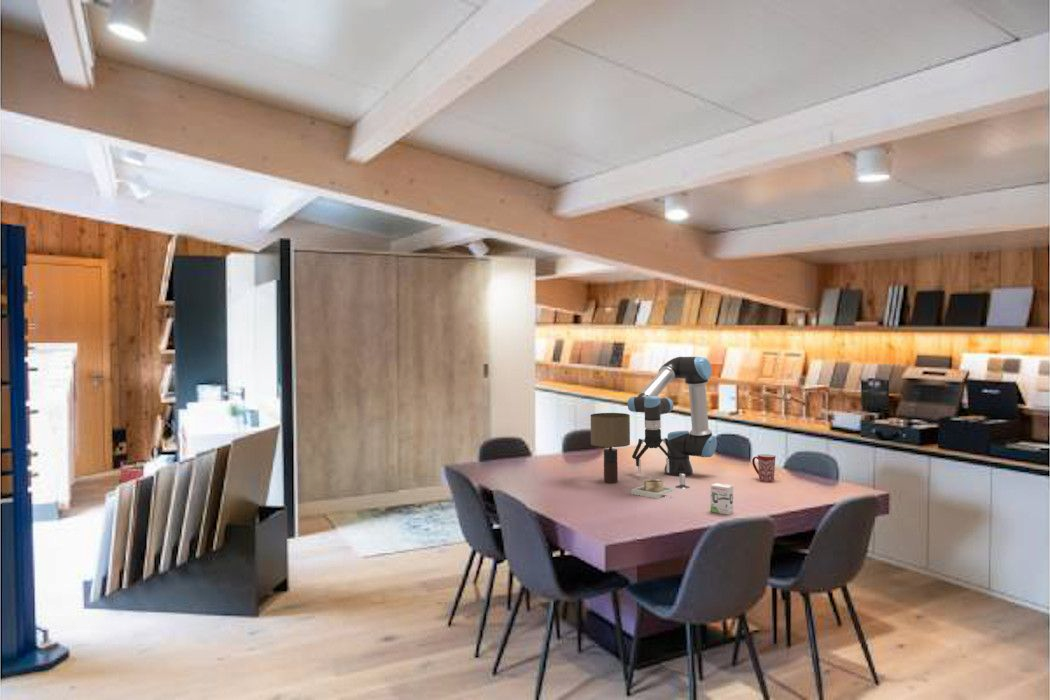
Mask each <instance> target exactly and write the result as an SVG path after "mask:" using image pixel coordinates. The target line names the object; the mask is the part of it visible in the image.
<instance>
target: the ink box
mask: <svg viewBox="0 0 1050 700" xmlns="http://www.w3.org/2000/svg"><path fill="white" fill-rule="evenodd" d="M710 512H712V513H716V514H723V515H731V514H734V485H732V484H727V483H726V484H724V483H719V482H716V483H712V484H711V485H710Z"/></svg>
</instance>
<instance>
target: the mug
mask: <svg viewBox="0 0 1050 700" xmlns="http://www.w3.org/2000/svg"><path fill="white" fill-rule="evenodd" d="M776 458H777V457H776V454H773V453H758V454H757V456H753V457H752V461H751V464H752V466H753V468H754V471H755V472H756V474H757V475H758V480H759V482H762V483H773V481H774V482H775V469H776ZM756 459H757V460H758V461H757V463H758V464H757V465H758V468H757V465H756V463H755V462H756V461H755V460H756Z"/></svg>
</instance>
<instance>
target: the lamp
mask: <svg viewBox="0 0 1050 700" xmlns="http://www.w3.org/2000/svg"><path fill="white" fill-rule="evenodd" d="M630 418H631V415H630V414H629V413H624V412H623V413H622V412H598V413H592V414H590V445H591V446H594V447H598V448H604V449H603V482H604V483H605V484H617V483H618V481H619V479H618V478H619V477H618V473H619V472H618V470H619V468H618V448H622V447H628V446H631V425H630V424H631V423H630V422H631V420H630Z"/></svg>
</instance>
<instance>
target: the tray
mask: <svg viewBox="0 0 1050 700" xmlns="http://www.w3.org/2000/svg"><path fill="white" fill-rule="evenodd" d="M676 489H677V488H676V487H668V486H664V485H663V491H662V492H659V493H654V492H649V491H645V490H644V485H642V486H638V487H634V488H631V490H630V493H631V495H633V494H634V496H639V495H640V497H644V496H645V497H646V498H650V497H651V499H655V498H656V499H657V500H659V499H662V498H665V496H666V497H667V495H665V494H668V493H672V492H675V491H676ZM645 497H644V498H645Z"/></svg>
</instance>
